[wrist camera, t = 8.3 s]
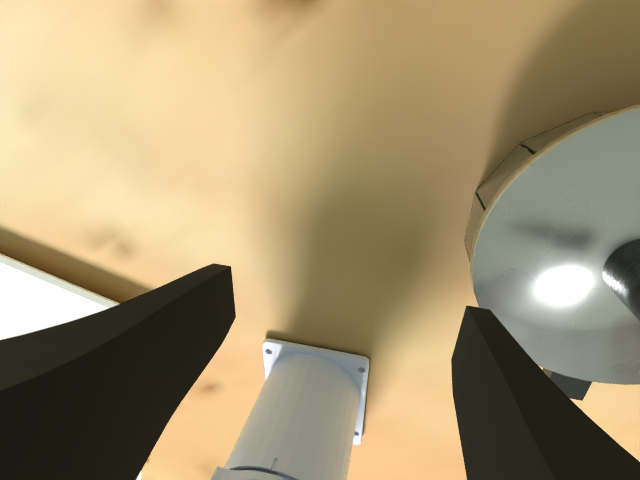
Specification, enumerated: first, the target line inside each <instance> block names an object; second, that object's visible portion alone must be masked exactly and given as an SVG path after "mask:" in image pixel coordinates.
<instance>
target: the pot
mask: <svg viewBox="0 0 640 480" xmlns="http://www.w3.org/2000/svg"><path fill="white" fill-rule="evenodd" d="M605 114H608V113H600V112H594V113H593V114H592V113H589V114H587V115H584V116H582V117H580V118H577V119H575V120H573V121H570V122H568V123H566V124H563V125H561V126H559V127H556V128H554V129H551V130H549V131H547V132H544V133H542V134H540V135H537V136H535V137H533V138H530V139H528V140H526V141H523V142H522V145H523V146H520V145H519V144H518V146H517V147H516V148H515V149H514V150H513V151H512V152H511V153H510V154H509V155H508V156H507V158H506V159H505V160H504V161H503V162H502V163H501V164H500V165H499V166H498V167H497V169H496V170H495V171H494V172H493V173H492V174H491V175H490V176H489V177H488V178H487V179H486V181H485V182H484V183H483V184H482V185H481V186H480V187H479V188H478V189H477V190H476V191H477V193H475V196H474V200H473V205H472V209H471V214H470V218H469V223H468V227H467V232H466V236H465V246H466V250H467V253H468V257H469V260H470V255H471V249H472V244H473V238H474V236H475V233H476V230H477V227H478V224H479V221H480V219H481V217H482V215H483V213H484V212H485V210H486V208H487V206H488V204H489V203H490V201H491V200H492V198H493V197H494V195H495V194H496V192H497V191H498V190H499V188H500V187H501V186H502V185H503V184H504V183H505V181H506V180H507V179H508V178H509V177H510V176H511V175H512V173H513V172H514V171H516V170H517V169H518V168H519V167H520V166H521V165H522V164H523V163H524V162H525V161H527V160H528V159H529V158H530V157H531V156H532V155H534V154H535V153H536V152H538V151H539V150H541V149H542V148H543V147H545V146H546V145H547V144H549V143H550V142H552V141H553V140H555V139H557V138H558V137H560V136H562V135H564V134H565V133H567V132H569V131H570V130H572V129H574V128H576V127H578V126H580V125H582V124H585V123H587V122H589V121H591V120H593V119H595V118H598V117H600V116H603V115H605ZM543 372H544V373H545V374H546V375H547V376H548V377H549V378H550V379H551V380H552V381H553V382H554V383H555V384H556V385H557V386H558V387H559V388H560V389H561V390H562V391H563V392H564V393H565V395H566V396H567V397H568V398H572V399H577V400H582V401H583V399H584V397H585V395H586V393H587V391H588V389H589V387H590V385H591V383H592V381H586V380H581V379H577V378H573V377H569V376H565V375H562V374H559V373H556V372H553V371H550V370H548V369H545V368H543Z"/></svg>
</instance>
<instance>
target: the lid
mask: <svg viewBox="0 0 640 480" xmlns="http://www.w3.org/2000/svg"><path fill="white" fill-rule="evenodd" d="M470 272H471V279H472V286H473V289H474V293H475V296H476V299H477V303H478V306H479V308H484V309H490V310H491V311H492V312H493V314H494V315H495V316H496V317H497V318H498V319H499V321H500V322H501V323H502V324H503V326H504V327H505V328H506V329H507V330H508V332H509V333H510V334H511V335H512V336H513V337H514V339H515V340H516V341H517V342H518V343H519V345H520V346H521V347H522V348H523V349H524V350H525V352H526V353H527V354H528V355H529V356H530V357H531V358H532V360H533V361H534V362H535V363H536V364H537V365H539V366H541V367H543V368H545V369H548V370H550V371H553V372H556V373H559V374H562V375H565V376H569V377H573V378H577V379H581V380H586V381H593V382H600V383H609V384H625V385H627V384H640V104H638V105H633V106H629V107H626V108H623V109H620V110H617V111H614V112H611V113H608V114H605V115H603V116H600V117H598V118H595V119H593V120H591V121H589V122H587V123H585V124H582V125H580V126H578V127H576V128H574V129H572V130H570V131H569V132H567V133H565V134H564V135H562V136H560V137H558V138H557V139H555V140H553V141H552V142H550V143H549V144H547V145H546V146H545V147H543V148H542V149H541V150H539V151H538V152H536V153H535V154H534V155H532V156H531V157H530V158H529V159H528V160H527V161H525V162H524V163H523V164H522V165H521V166H520V167H519V168H518V169H517V170H516V171H514V172H513V173H512V175H511V176H510V177H509V178H508V179H507V180H506V181H505V183H504V184H503V185H502V186H501V187H500V188H499V190H498V191H497V192H496V194H495V195H494V197H493V198H492V200H491V201H490V203H489V204H488V206H487V208H486V210H485V212H484V213H483V215H482V217H481V219H480V221H479V224H478V227H477V230H476V233H475V236H474V238H473V244H472V249H471V255H470Z"/></svg>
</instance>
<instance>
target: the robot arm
mask: <svg viewBox="0 0 640 480" xmlns="http://www.w3.org/2000/svg"><path fill="white" fill-rule="evenodd" d="M235 317H236V315H235V304H234V294H233V283H232V273H231V266H225V265H219V264H211V265H208V266H206V267H203V268H201V269H199V270H196V271H194V272H192V273H190V274H187V275H185V276H183V277H181V278H179V279H176V280H174V281H172V282H170V283H168V284H165V285H163V286H161V287H159V288H157V289H154V290H152V291H150V292H147V293H145V294H143V295H140V296H138V297H135V298H133V299H131V300H128V301H126V302H123V303H121V304H119V305H116V306H113V307H111V308H108V309H105V310H103V311H100V312H97V313H94V314H91V315H88V316H85V317H82V318H79V319H76V320H73V321H70V322H67V323H63V324H59V325H56V326H52V327H49V328H45V329H41V330H38V331H34V332H31V333H27V334H23V335H19V336H15V337H11V338H6V339H2V340H0V480H136V479H137V477H138V475H139V474H140V472H141V470H142V468H143V466H144V464H145V462H146V461H147V459H148V457H149V455H150V453H151V451H152V449H153V448H154V446H155V444H156V442H157V441H158V439H159V437H160V435H161V434H162V432H163V430H164V428H165V427H166V425H167V423H168V422H169V420H170V418H171V416H172V415H173V413H174V412H175V410H176V409H177V407H178V406H179V404H180V403H181V401H182V400H183V398H184V397H185V396H186V394H187V393H188V391H189V390H190V388H191V387H192V386H193V384H194V383H195V381H196V380H197V379H198V377H199V376H200V374H201V373H202V372H203V370H204V369H205V367H206V366H207V365H208V363H209V362H210V360H211V359H212V357H213V356H214V354H215V353H216V352H217V350H218V349H219V347H220V346H221V344H222V343H223V341H224V339H225V337H226V335H227V333H228V332H229V330H230V328H231V325H232V323H233V321H234V319H235ZM262 348H263V360H264V372H265V383H264V385H263V388H262V390H261V392H260V394H259V396H258V398H257V400H256V402H255V404H254V406H253V408H252V410H251V413H250V415H249V417H248V419H247V421H246V423H245V425H244V427H243V429H242V431H241V433H240V435H239V438H238V440H237V442H236V444H235V446H234V448H233V450H232V452H231V454H230V456H229V458H228V460H227V463H226V465H225V467H224V468H222V467H217V468H216V470H215V472H214V474H213V476H212V478H211V480H347V474H348V468H349V462H350V456H351V450H352V444H353V445H359V444H361V440H362V431H363V421H364V411H365V401H366V391H367V381H368V372H369V360H368V358H366V357H364V356H360V355H355V354H350V353H345V352H339V351H334V350H329V349H323V348H318V347H313V346H307V345H302V344H297V343H291V342H286V341H281V340H275V339H270V338H267V339H265V340H264V341H263V343H262ZM269 349H270V350H271V351H270V350H269ZM360 367H362V368H364V369H362V368H360ZM452 387H453V398H454V404H455V410H456V416H457V422H458V428H459V434H460V440H461V446H462V452H463V457H464V463H465V469H466V475H467V480H640V462H639V461H638V460H637V459H635V458H634V457H633V456H632V455H631V454H630V453H628V452H627V451H626V450H625V449H624V448H622V447H621V446H620V445H619V444H618V443H617V442H616V441H615V440H613V439H612V438H611V437H610V436H609V435H608V434H607V433H606V432H605V431H603V430H602V429H601V428H600V427H599V426H598V425H597V424H596V423H595V422H593V421H592V420H591V419H590V418H589V417H588V416H587V415H586V414H585V413H584V412H583V411H582V410H581V409H580V408H579V407H577V406H576V405H575V404H574V403H573V402H572V401H571V400H570V399H569V398H568V397H567V396H566V395H565V393H564V392H563V391H562V390H561V389H560V388H559V387H558V386H557V385H556V384H555V383H554V382H553V381H552V380H551V379H550V378H549V377H548V376H547V375H546V374H545V373H544V372H543V371H542V370H541V368H540V367H539V366H538V365H537V364H536V363H535V362H534V361H533V360H532V358H531V357H530V356H529V355H528V354H527V353H526V352H525V350H524V349H523V348H522V347H521V346H520V345H519V343H518V342H517V341H516V340H515V339H514V337H513V336H512V335H511V334H510V333H509V332H508V330H507V329H506V328H505V327H504V326H503V324H502V323H501V322H500V321H499V319H498V318H497V317H496V316H495V315H494V314H493V312H492V311H491V310H490V309H484V308H478V307H472V306H466V309H465V313H464V317H463V320H462V324H461V327H460V331H459V334H458V338H457V342H456V345H455V349H454V352H453V356H452Z"/></svg>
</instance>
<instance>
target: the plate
mask: <svg viewBox="0 0 640 480" xmlns="http://www.w3.org/2000/svg"><path fill="white" fill-rule="evenodd" d="M119 304H120V303H117V302H115V301H113V300H110V299H108V298H106V297H103V296H101V295H98V294H96V293H94V292H91V291H89V290H86V289H84V288H82V287H79V286H77V285H75V284H72V283H70V282H67V281H65V280H63V279H60V278H58V277H55V276H53V275H51V274H48V273H46V272H44V271H41V270H39V269H36V268H34V267H32V266H29V265H27V264H24V263H22V262H20V261H17V260H15V259H13V258H10V257H8V256H5V255H3V254H1V253H0V340H2V339H6V338H11V337H15V336H19V335H23V334H27V333H31V332H34V331H38V330H41V329H45V328H49V327H52V326H56V325H59V324H63V323H67V322H70V321H73V320H76V319H79V318H82V317H85V316H88V315H91V314H94V313H97V312H100V311H103V310H105V309H108V308H111V307H113V306H116V305H119ZM136 480H141V472H140V474H139V475H138V477H137V479H136Z"/></svg>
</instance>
